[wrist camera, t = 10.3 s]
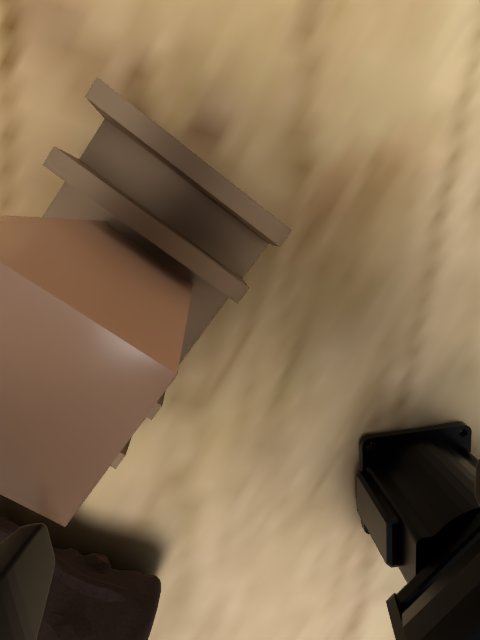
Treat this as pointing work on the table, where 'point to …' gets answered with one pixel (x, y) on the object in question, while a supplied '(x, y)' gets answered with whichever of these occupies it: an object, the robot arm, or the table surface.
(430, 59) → the table surface
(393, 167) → the table surface
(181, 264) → the rack
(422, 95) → the table surface
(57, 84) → the table surface
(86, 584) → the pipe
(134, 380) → the clay block
